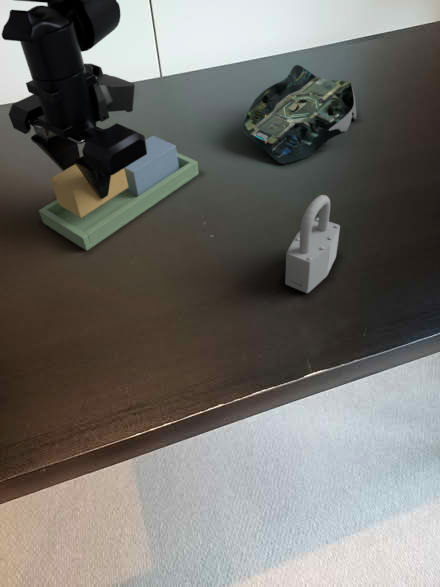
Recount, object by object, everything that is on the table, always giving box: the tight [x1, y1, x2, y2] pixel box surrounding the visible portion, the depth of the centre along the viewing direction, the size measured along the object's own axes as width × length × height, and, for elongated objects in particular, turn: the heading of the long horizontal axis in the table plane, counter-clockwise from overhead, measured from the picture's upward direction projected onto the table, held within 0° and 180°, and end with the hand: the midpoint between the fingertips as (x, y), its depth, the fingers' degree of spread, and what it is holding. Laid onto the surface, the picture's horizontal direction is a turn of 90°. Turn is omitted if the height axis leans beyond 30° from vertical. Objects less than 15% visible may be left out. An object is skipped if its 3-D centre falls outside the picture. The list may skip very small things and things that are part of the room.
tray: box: [38, 152, 199, 251], centre depth 72 cm, size 21×9×2 cm, turn 139°
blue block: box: [124, 135, 179, 197], centre depth 74 cm, size 8×5×4 cm, turn 139°
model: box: [242, 64, 357, 165], centre depth 79 cm, size 20×9×14 cm
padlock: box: [284, 194, 341, 294], centre depth 57 cm, size 7×4×10 cm, turn 145°
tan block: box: [49, 164, 128, 218], centre depth 67 cm, size 8×5×4 cm, turn 139°
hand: (92, 190), depth 68 cm, fingers closed on tan block, 4 cm apart
